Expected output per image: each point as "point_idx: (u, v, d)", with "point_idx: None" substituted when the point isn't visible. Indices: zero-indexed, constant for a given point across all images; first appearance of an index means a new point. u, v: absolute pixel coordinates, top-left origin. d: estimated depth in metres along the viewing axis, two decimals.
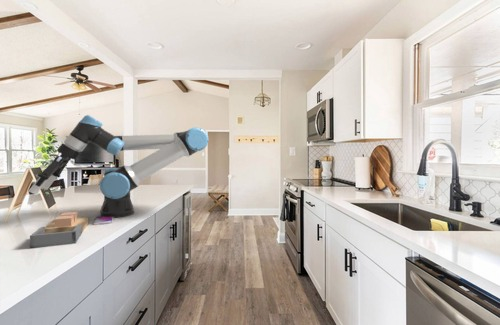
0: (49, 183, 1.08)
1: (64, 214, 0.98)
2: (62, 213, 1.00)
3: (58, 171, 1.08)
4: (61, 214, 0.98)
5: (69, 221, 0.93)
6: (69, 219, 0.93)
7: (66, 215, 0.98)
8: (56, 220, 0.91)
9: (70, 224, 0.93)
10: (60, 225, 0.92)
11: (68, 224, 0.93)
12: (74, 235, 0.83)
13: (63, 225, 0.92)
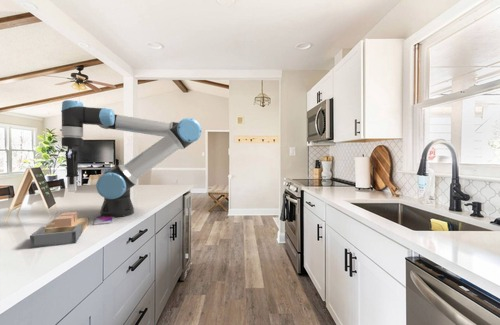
0: None
1: (64, 214, 0.98)
2: (62, 213, 1.00)
3: (74, 167, 1.08)
4: (61, 214, 0.98)
5: (69, 221, 0.93)
6: (69, 219, 0.93)
7: (66, 215, 0.98)
8: (56, 220, 0.91)
9: (70, 224, 0.93)
10: (60, 225, 0.92)
11: (68, 224, 0.93)
12: (74, 235, 0.83)
13: (63, 225, 0.92)
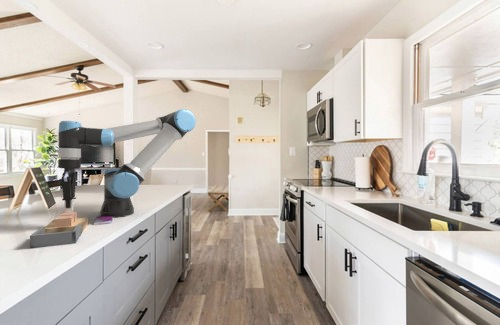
0: None
1: (64, 214, 0.98)
2: (62, 213, 1.00)
3: (71, 190, 1.03)
4: (61, 214, 0.98)
5: (69, 221, 0.93)
6: (69, 219, 0.93)
7: (66, 215, 0.97)
8: (56, 220, 0.91)
9: (70, 224, 0.93)
10: (60, 225, 0.92)
11: (68, 224, 0.93)
12: (74, 235, 0.83)
13: (63, 225, 0.92)
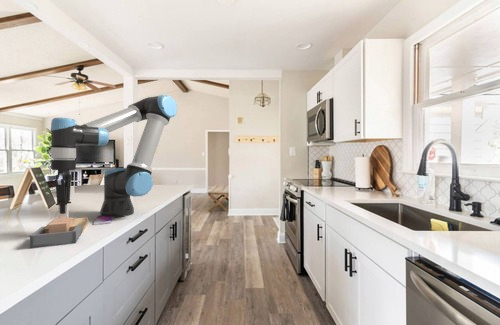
0: None
1: (57, 220, 0.89)
2: (55, 219, 0.90)
3: None
4: (54, 220, 0.89)
5: None
6: None
7: None
8: None
9: None
10: None
11: None
12: (74, 235, 0.83)
13: None
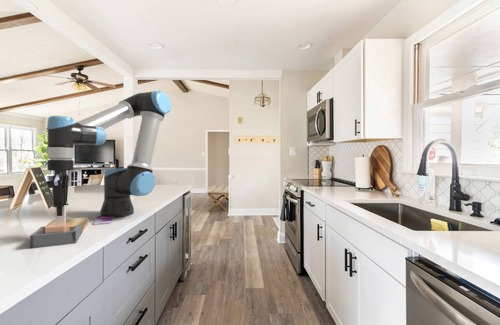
0: None
1: None
2: None
3: (63, 195, 0.90)
4: None
5: None
6: None
7: None
8: None
9: None
10: None
11: None
12: (74, 235, 0.83)
13: None
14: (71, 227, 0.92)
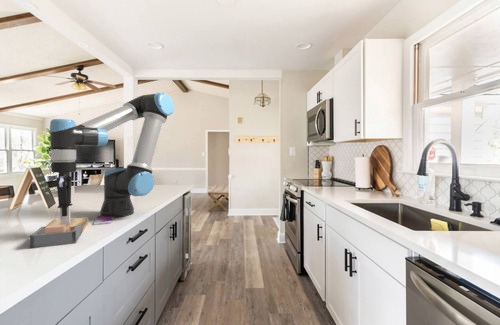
0: None
1: None
2: None
3: (67, 196, 0.93)
4: None
5: None
6: None
7: None
8: None
9: None
10: None
11: None
12: (74, 235, 0.83)
13: None
14: (71, 227, 0.92)
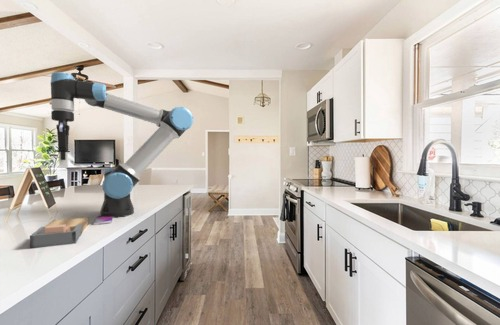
0: None
1: None
2: None
3: None
4: None
5: None
6: None
7: None
8: None
9: None
10: None
11: None
12: (74, 235, 0.83)
13: None
14: (71, 227, 0.92)
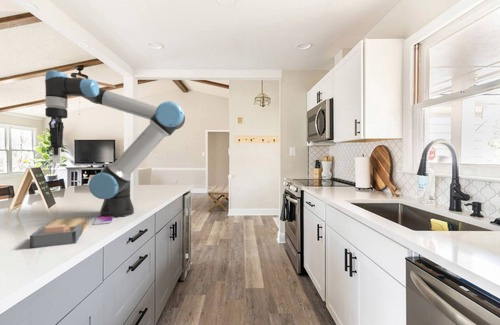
0: None
1: None
2: None
3: None
4: None
5: None
6: None
7: None
8: None
9: None
10: None
11: None
12: (74, 235, 0.83)
13: None
14: (71, 227, 0.92)
